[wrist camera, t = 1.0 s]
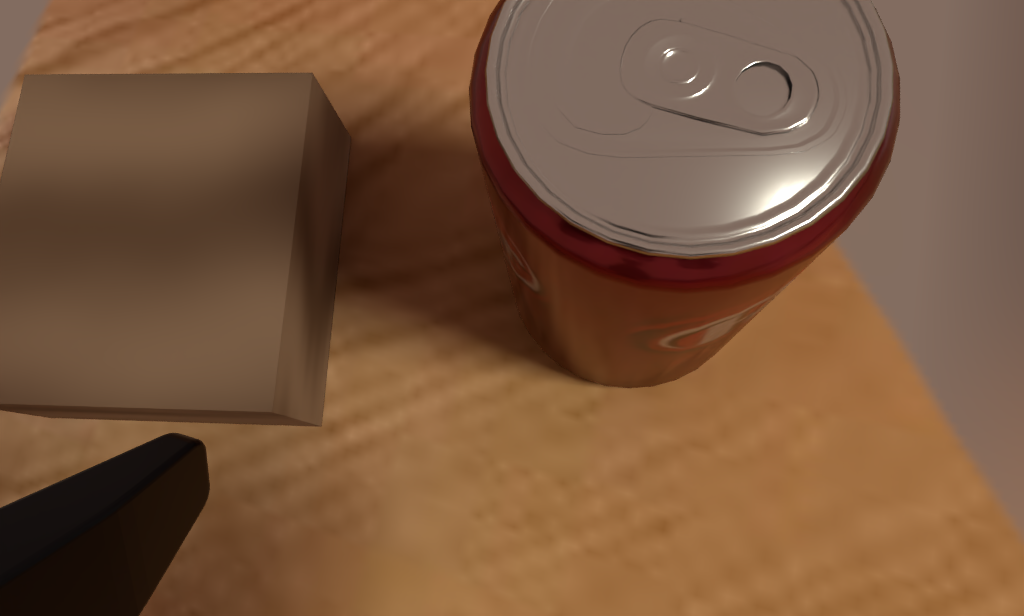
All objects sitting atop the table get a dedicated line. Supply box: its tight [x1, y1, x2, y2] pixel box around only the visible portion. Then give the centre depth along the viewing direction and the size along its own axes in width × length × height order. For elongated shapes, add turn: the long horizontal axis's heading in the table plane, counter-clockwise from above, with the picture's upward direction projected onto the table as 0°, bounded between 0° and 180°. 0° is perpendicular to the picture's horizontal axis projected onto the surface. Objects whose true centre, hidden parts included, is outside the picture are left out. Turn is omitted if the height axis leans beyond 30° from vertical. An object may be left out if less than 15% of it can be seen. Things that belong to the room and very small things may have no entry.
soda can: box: [469, 0, 900, 388], centre depth 18 cm, size 7×7×12 cm
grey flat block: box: [0, 73, 351, 426], centre depth 23 cm, size 10×9×4 cm
